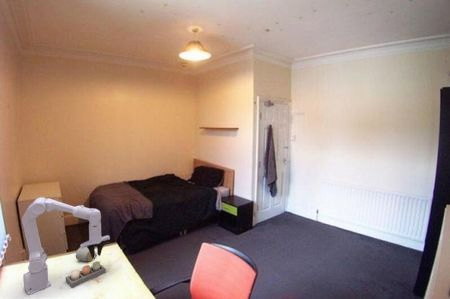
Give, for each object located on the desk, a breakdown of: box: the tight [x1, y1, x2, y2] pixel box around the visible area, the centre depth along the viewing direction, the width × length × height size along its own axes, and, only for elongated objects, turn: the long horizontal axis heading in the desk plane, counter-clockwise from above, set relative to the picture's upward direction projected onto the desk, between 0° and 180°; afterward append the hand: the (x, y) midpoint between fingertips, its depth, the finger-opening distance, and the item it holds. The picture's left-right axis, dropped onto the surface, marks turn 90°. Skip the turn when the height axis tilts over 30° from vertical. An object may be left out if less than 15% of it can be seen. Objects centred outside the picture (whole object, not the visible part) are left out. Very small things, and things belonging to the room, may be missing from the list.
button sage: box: [92, 260, 101, 272], centre depth 134 cm, size 4×4×4 cm
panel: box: [65, 264, 107, 289], centre depth 130 cm, size 17×8×2 cm, turn 142°
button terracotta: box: [81, 264, 91, 276], centre depth 130 cm, size 4×4×4 cm
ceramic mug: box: [75, 247, 98, 262], centre depth 148 cm, size 11×8×8 cm
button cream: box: [70, 269, 80, 281], centre depth 126 cm, size 4×4×4 cm
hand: (96, 256), depth 133 cm, fingers open, 3 cm apart
